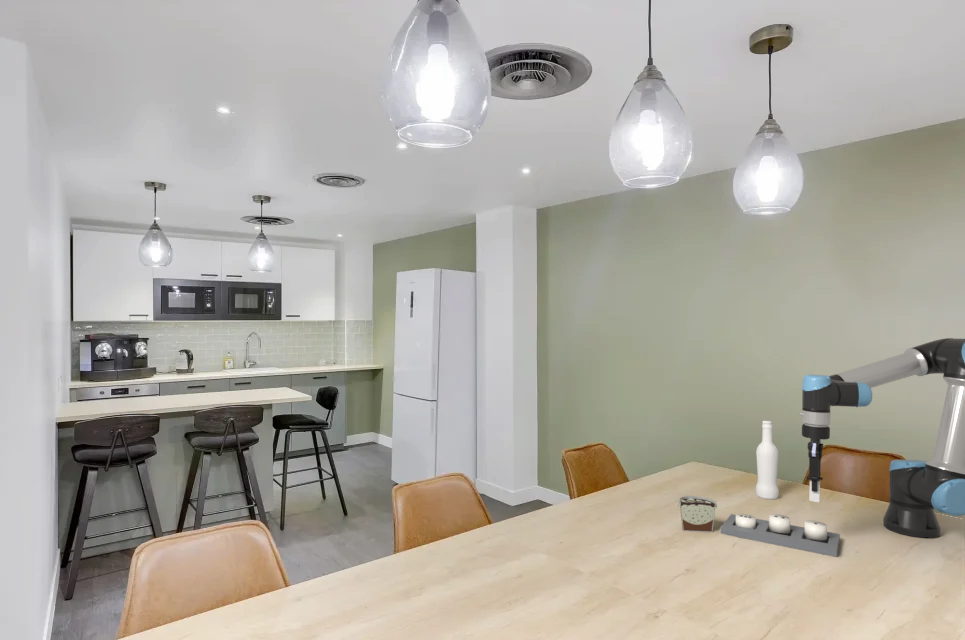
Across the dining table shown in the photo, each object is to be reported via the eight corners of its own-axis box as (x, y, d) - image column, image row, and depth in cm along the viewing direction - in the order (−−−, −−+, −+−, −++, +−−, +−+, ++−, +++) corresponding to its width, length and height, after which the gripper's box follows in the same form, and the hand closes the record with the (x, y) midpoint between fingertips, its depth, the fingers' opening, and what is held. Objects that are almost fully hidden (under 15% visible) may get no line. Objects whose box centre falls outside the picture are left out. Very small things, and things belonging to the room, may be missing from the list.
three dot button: (757, 528, 188) (757, 515, 189) (753, 533, 184) (753, 520, 184) (737, 524, 192) (737, 512, 192) (733, 529, 187) (733, 517, 187)
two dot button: (791, 529, 183) (791, 516, 183) (788, 534, 178) (788, 521, 178) (770, 525, 186) (770, 512, 186) (767, 530, 181) (767, 517, 181)
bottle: (782, 500, 221) (782, 422, 221) (761, 499, 221) (761, 422, 221) (772, 494, 229) (772, 419, 229) (752, 493, 229) (752, 419, 229)
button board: (839, 540, 179) (839, 533, 180) (836, 557, 166) (836, 550, 166) (731, 519, 198) (731, 514, 198) (720, 533, 185) (720, 527, 185)
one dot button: (827, 536, 177) (827, 522, 177) (826, 541, 172) (826, 528, 172) (805, 531, 181) (805, 518, 181) (803, 537, 176) (803, 523, 176)
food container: (711, 525, 192) (711, 496, 192) (717, 532, 185) (717, 501, 186) (673, 524, 193) (674, 494, 193) (678, 530, 187) (678, 500, 187)
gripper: (804, 420, 184) (802, 493, 184) (799, 426, 173) (798, 503, 173) (831, 423, 180) (830, 498, 180) (828, 429, 169) (827, 508, 169)
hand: (814, 500), depth 176 cm, fingers closed
